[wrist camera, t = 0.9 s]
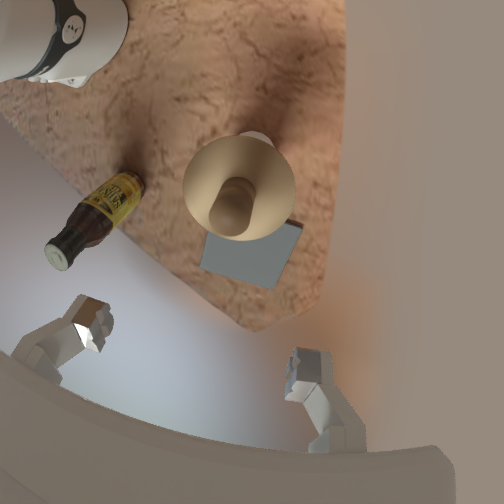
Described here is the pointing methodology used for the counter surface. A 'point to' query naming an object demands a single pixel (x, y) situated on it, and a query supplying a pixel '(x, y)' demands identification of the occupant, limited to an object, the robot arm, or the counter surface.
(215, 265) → the mat
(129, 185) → the sauce bottle
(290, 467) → the robot arm
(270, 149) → the lid
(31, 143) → the counter surface
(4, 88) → the counter surface
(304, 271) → the counter surface
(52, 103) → the counter surface
